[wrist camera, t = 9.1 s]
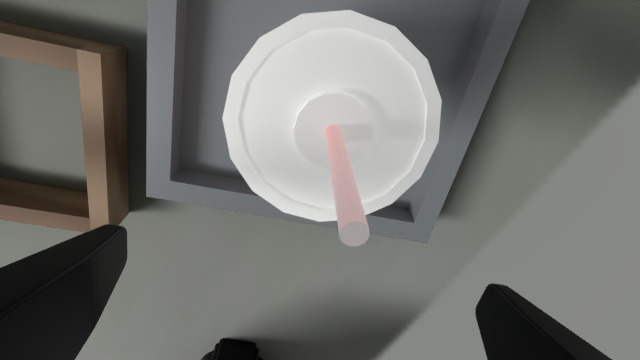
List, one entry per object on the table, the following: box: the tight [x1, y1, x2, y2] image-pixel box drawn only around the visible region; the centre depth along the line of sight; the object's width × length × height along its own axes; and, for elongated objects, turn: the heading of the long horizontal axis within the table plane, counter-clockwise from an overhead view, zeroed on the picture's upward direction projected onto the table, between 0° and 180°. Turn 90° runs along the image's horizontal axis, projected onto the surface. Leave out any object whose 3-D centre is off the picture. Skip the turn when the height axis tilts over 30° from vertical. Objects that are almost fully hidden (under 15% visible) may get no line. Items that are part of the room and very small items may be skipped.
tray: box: [146, 0, 530, 243], centre depth 18 cm, size 16×16×2 cm
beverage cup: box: [222, 10, 442, 246], centre depth 12 cm, size 6×6×14 cm
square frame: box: [0, 21, 129, 232], centre depth 19 cm, size 10×10×2 cm
